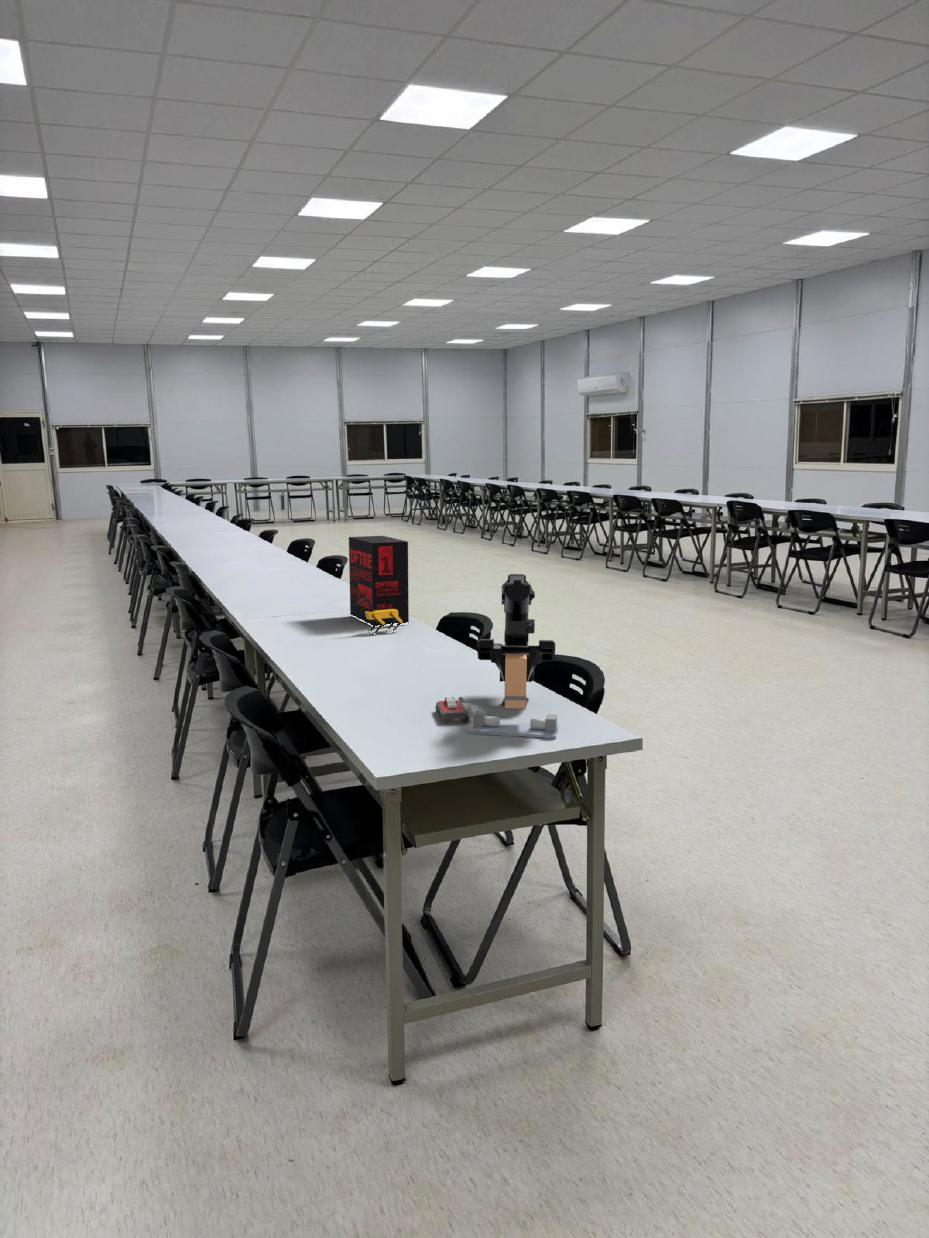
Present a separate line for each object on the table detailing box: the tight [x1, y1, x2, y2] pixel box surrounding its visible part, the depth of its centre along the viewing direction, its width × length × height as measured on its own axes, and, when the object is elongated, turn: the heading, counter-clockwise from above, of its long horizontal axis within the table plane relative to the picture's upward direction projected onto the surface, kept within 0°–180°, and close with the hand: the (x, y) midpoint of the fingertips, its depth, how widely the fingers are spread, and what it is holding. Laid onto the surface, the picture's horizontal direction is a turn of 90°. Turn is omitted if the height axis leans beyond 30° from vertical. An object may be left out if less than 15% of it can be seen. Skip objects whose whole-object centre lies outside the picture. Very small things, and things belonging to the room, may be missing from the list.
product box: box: [348, 535, 410, 626], centre depth 344 cm, size 26×14×32 cm, turn 27°
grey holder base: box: [469, 709, 559, 739], centre depth 209 cm, size 8×20×4 cm, turn 79°
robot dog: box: [354, 598, 403, 634], centre depth 321 cm, size 6×18×13 cm, turn 120°
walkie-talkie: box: [435, 696, 472, 725], centre depth 224 cm, size 9×4×20 cm
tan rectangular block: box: [504, 654, 527, 709], centre depth 211 cm, size 5×5×12 cm
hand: (515, 680), depth 209 cm, fingers closed on tan rectangular block, 5 cm apart
